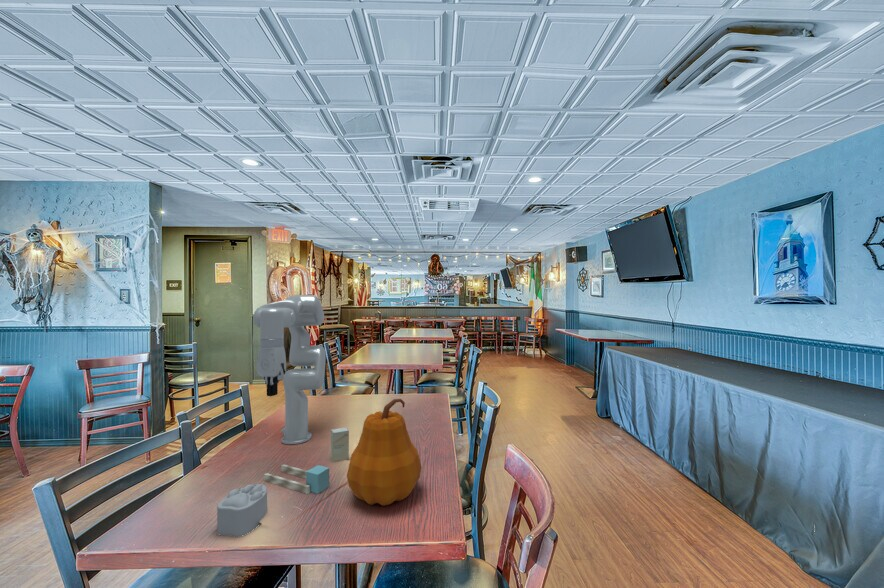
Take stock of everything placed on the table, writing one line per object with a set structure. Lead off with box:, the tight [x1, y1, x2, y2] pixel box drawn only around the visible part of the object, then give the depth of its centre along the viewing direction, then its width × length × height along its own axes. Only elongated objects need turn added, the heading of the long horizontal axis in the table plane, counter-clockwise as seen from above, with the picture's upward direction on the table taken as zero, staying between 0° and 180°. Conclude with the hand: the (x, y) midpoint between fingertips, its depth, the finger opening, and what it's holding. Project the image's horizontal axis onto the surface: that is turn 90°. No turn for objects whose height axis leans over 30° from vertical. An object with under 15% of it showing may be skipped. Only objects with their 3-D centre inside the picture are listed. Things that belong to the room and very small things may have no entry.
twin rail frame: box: [263, 464, 311, 495], centre depth 119 cm, size 20×8×3 cm, turn 65°
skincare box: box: [330, 426, 350, 463], centre depth 136 cm, size 6×4×12 cm
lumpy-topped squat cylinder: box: [216, 483, 268, 538], centre depth 100 cm, size 10×13×9 cm
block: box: [305, 464, 330, 495], centre depth 115 cm, size 5×5×6 cm
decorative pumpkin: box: [346, 398, 422, 507], centre depth 113 cm, size 24×24×30 cm
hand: (272, 395), depth 124 cm, fingers closed
